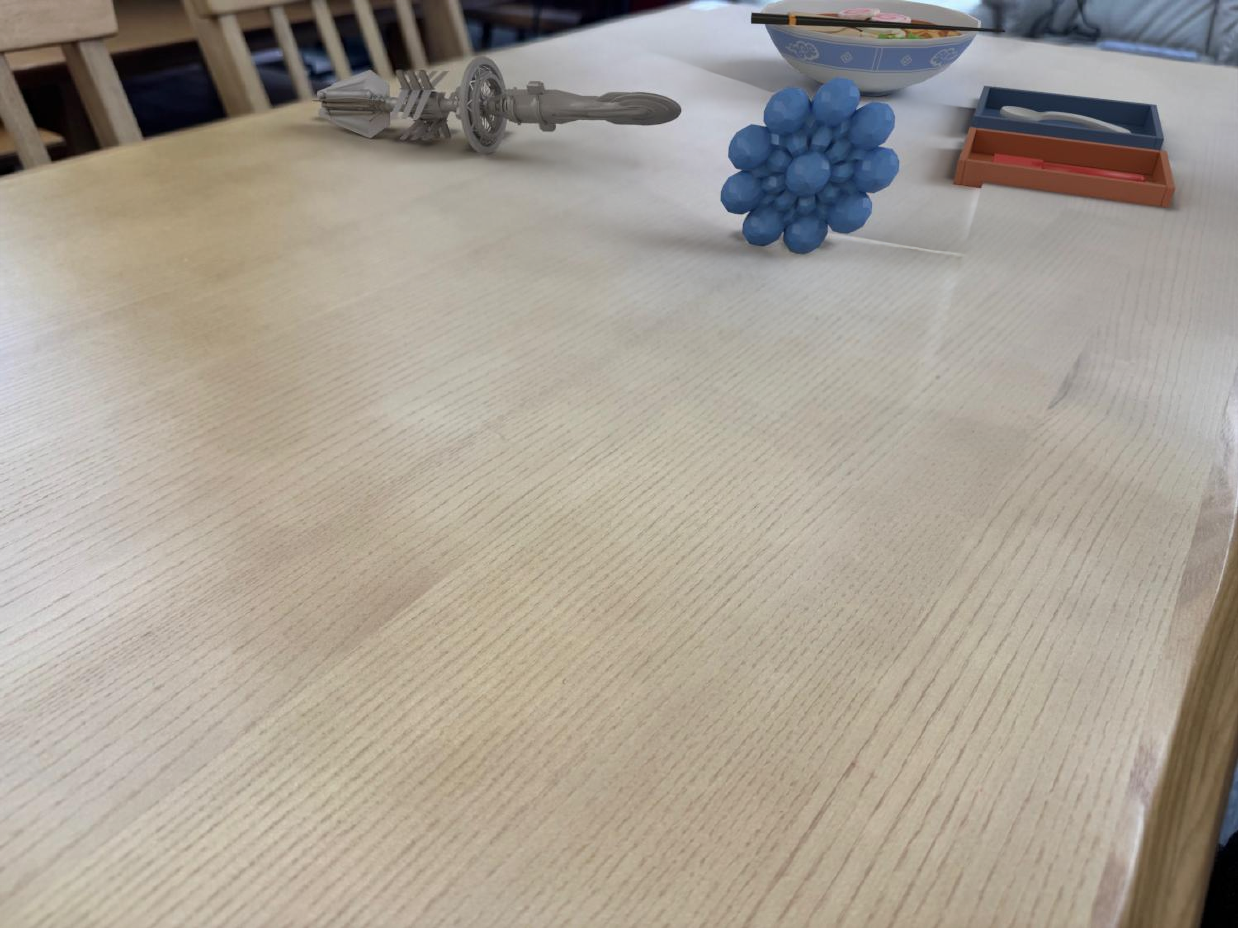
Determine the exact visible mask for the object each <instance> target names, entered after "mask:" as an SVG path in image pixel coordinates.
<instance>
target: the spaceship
mask: <svg viewBox="0 0 1238 928" xmlns="http://www.w3.org/2000/svg"><path fill="white" fill-rule="evenodd" d="M417 72H418V73H417V75H416V73H415V71H414V69H407V71H406V73H407V76H408V79H409V81H408V80H407V77H406V75H405V73H404V72H403V70H402V69H396V70H395V74H396V77H397V80H398V83H399V85H400V87H399V90H400V92H399V94H398V97H395V96H390V83H388V82H387V81H386V80H385V79H383V78H382V77H381V76H379V75H378V74H377V73H375V72H374V71H373V70H372V69H368V70H366V71H363V72H360V73H357V74H355V75H352V76H349V77H346V78H344V79H341V80H339V81H336V82H334V83H332V84H331V85H330V86H327V87H325V88H323V89H320V90H317V92H316V98H317V99H311V101H312V102H317V103H320V105H321V107H319V108H318V114H317V115H318V116H319V117H321V118H323V119H325V120H328V121H330V122H332V124H334V125H337V126H338V127H341V128H343V129H346V130H348V131H351V132H354V133H357V134H359V135H361V136H364V137H366V138H369V139H372V138H374V137H375V136H376V135H378V134H379V133H381V132H382V131H384V130H385V129H387V127H389V126H390V125H391V120H395V119H397V116H398V114H399V112H400V113H402V115H401V117H400V118H401V120H407V119H408V118H411V119H412V122H414V123H412V124H411V126H410V127H409V128H407V130H406V131H405V132H404V133H403V134H402V135H401V137H400V138H399V140H401V141H403V140H404V141H405V140H406V139H407V138H408V137H409V136H410V135H412V134H413V132H414V131H415V130H416V129H418V130H417V131H416V133H415V134H413V136H412V137H411V138H410V140H411V141H416V140H417V139H419V138H420V137H421V136H422V138H421V141H428V140H429V139H430V138H431V137H432V136H433V138H434V139H440V138H441V134H440V131H439V129H440V130H441V132H442V134H443V136H444V138H445V139H451V138H452V134H451V132H450V127H449V125H448V123H447V122H448V121H449V120H448V117H449V116H450V113H454V115H455V118H456V119H457V120H459V121H460V122H461V126H462V130H463V133H464V135H465V138H466V140H467V141H468V144H469V145H470V146H471V147H472V149H473V150H475V151H476V152H477V153H479V154H481V155H489V154H491V153H493V152H494V151H496V150H497V149H498V147H500V145H501V143H502V141H503V139H504V137H505V133H506V129H507V124H508V122H511V123H514V124H517V126H522V124H538V128H539V130H540V131H542V133H543V132H544V133H545V132H546V133H547V132H549V133H554V132H555V131H556V129H557V125H564V124H568V123H572V122H577V121H605V122H608V123H611V124H613V125H617V126H618V125H620V126H643V127H646V126H647V127H648V126H658V125H659V126H660V125H664V124H667V123H670V122H673V121H674V120H677V119H678V118H679V117H680V115H681V114H682V107H681V105H680V103H678V102H677V101H675V100H674V99H672V98H670V97H668V96H665V95H663V94H658V93H653V92H645V91H632V92H631V91H630V92H629V91H609V92H606V93H604V94H602V95H581V94H577V93H573V92H568V91H565V90H560V89H546V88H545V85H544V82H543V81H541V80H530V81H529V82H528V83H527V84H526V85H525V86H526V88H525V89H523V88H521V89H520V88H517V86H513V87H512V88H506V84H505V80H504V77H503V74H502V72H501V70H500V68H499V67H498V65H497V64H496V63H495V61H494V60H493V59H491V58H489V57H488V56H485V55H479V56H476V57H475V58H473V59H472V60H471V61H470V62H469V63H468V64H467V66H466V68H465V70H464V72H463V75H462V78H461V82H460V85H459V86H457V87H456V88H455V91H451V92H450V95H449V97H448V98H447V97H445V96H446V94H447V92H446V91H441V92H439V91H436V90H435V89H436V88H435V87H436V86H437V85H438V84H439V83H440V82H441V81H442V80H443V79H444V77H445V76H447V74H448V73H449V72H450V71H449V70H443V71H442V72H441V73H440V74H438V75H437V76H436V77H435V78H434V79H433V80H432V81H430V80H431V79H432V78H433V77H434V76H435V75H436V74H437V73H438V70H432V71H431V72H429V73H428V74H427V70H425V69H419V70H418V71H417ZM419 80H420V81H419ZM484 86H485V90H484ZM428 129H430V130H428Z"/></svg>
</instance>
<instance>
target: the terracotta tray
mask: <svg viewBox="0 0 1238 928" xmlns="http://www.w3.org/2000/svg"><path fill="white" fill-rule="evenodd" d="M994 154H1002V155H1010V156H1017V157H1025V158H1033V159H1041V160H1043V162H1046V163H1054V164H1062V165H1069V166H1077V167H1085V168H1092V169H1100V170H1108V171H1115V172H1123V173H1131V174H1138V175H1142V176H1144V177H1145V180H1146V183H1145V182H1138V181H1130V180H1123V179H1115V178H1108V177H1100V176H1093V175H1085V174H1077V173H1070V172H1062V171H1055V170H1047V169H1040V168H1032V167H1025V166H1017V165H1009V164H1002V163H994V162H993V158H994ZM984 183H986V184H987V183H988V184H995V185H1002V186H1009V187H1018V188H1024V189H1031V190H1039V191H1044V192H1045V191H1046V192H1052V193H1060V194H1068V195H1075V196H1082V197H1089V198H1096V199H1104V200H1109V201H1118V202H1124V203H1132V204H1133V203H1134V204H1138V205H1145V206H1154V207H1161V208H1170V205H1171V202H1172V200H1173V197H1174V194H1175V191H1176V186H1175V182H1174V178H1173V174H1172V169H1171V164H1170V159H1169V155H1168V151H1166V150H1160V151H1159V150H1152V149H1144V148H1136V147H1128V146H1120V145H1112V144H1104V143H1095V142H1087V141H1079V140H1071V139H1063V138H1055V137H1047V136H1039V135H1031V134H1023V133H1015V132H1006V131H998V130H990V129H982V128H974V127H971V126H970V127H969V128H968V131H967V135H966V137H965V140H964V143H963V146H962V149H961V152H960V155H959V158H958V161H957V165H956V170H955V174H954V179H953V183H952V184H953V185H955V186H961V187H969V188H970V187H971V188H976V189H982V188H983V184H984Z"/></svg>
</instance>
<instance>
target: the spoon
mask: <svg viewBox="0 0 1238 928" xmlns="http://www.w3.org/2000/svg"><path fill="white" fill-rule="evenodd" d="M1000 116H1001V118H1008V119H1016V120H1024V121H1033V122H1041V121H1047V120H1059V121H1065V122H1070V123H1074V124H1078V125H1081V126H1085V127H1088V128H1091V129H1099V130H1108V131H1116V132H1125V133H1131V132H1130V131H1129V130H1127V129H1124V128H1122V127H1119V126H1115V125H1112V124H1109V123H1106V122H1103V121H1100V120H1096V119H1093V118H1089V117H1086V116H1081V115H1076V114H1070V113H1063V112H1036V111H1033V110H1029V109H1025V108H1020V107H1013V106H1004V107H1002V108H1001V110H1000Z"/></svg>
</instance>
